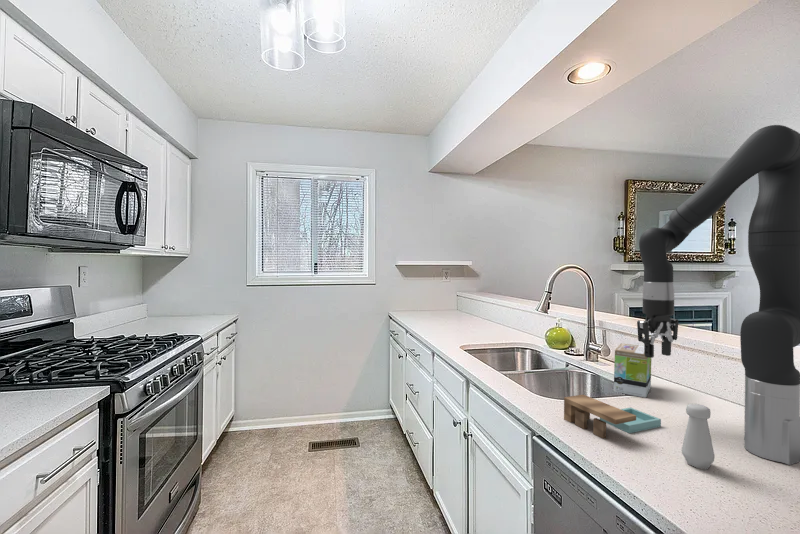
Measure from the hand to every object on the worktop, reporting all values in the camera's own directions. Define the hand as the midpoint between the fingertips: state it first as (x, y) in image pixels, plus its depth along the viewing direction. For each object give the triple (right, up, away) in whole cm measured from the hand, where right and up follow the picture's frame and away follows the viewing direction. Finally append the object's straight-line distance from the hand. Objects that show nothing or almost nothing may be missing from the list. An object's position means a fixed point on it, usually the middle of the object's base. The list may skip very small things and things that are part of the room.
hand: (657, 356), depth 110 cm
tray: (-10, -18, -4) cm, 21 cm away
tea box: (+8, -18, +25) cm, 31 cm away
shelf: (-21, -18, -8) cm, 29 cm away
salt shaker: (-8, -18, -26) cm, 32 cm away
